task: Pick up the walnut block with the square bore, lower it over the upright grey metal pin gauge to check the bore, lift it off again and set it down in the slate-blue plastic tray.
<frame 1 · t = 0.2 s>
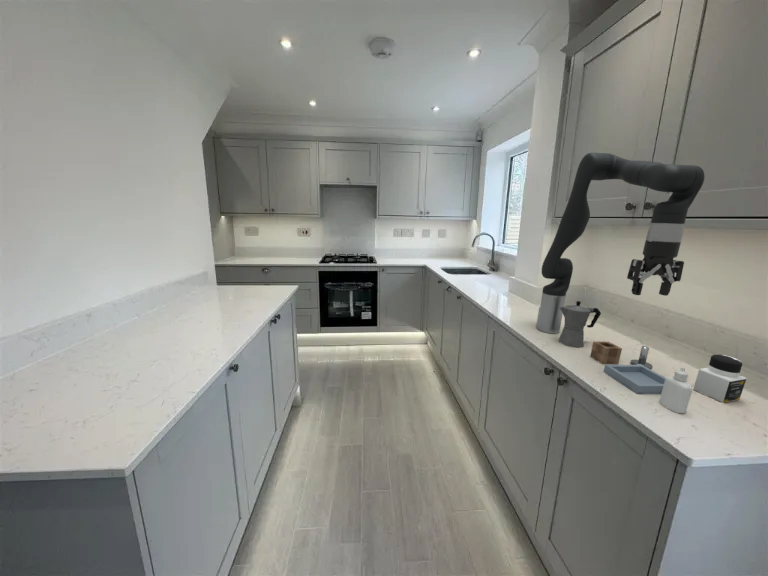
hand: (649, 294, 89), 28 cm above the countertop, tool pointing down, fingers open, 8 cm apart
pin gauge: (641, 365, 106), on the countertop
medicine bottle: (715, 395, 89), on the countertop
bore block: (603, 360, 109), on the countertop
eye dropper bottle: (671, 408, 82), on the countertop
tray: (638, 382, 95), on the countertop
coffeepot: (573, 343, 124), on the countertop
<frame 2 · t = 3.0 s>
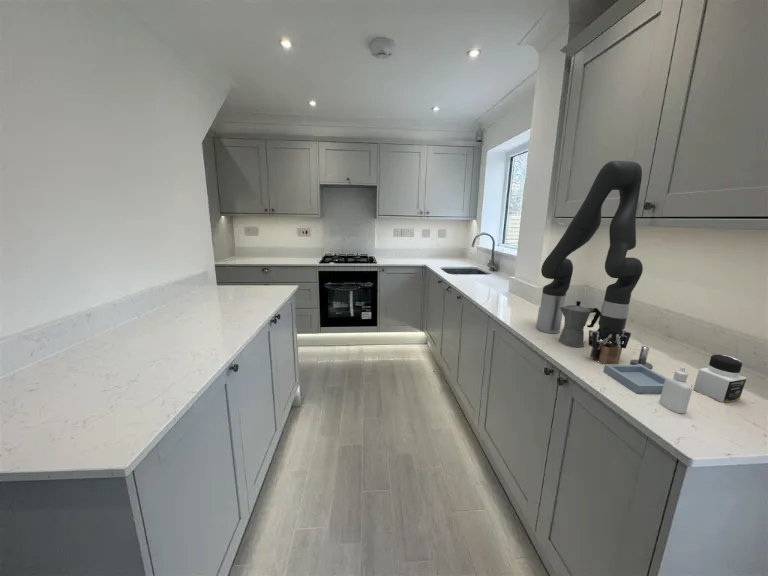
hand: (604, 358, 109), 1 cm above the countertop, tool pointing down, fingers closed on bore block, 6 cm apart
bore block: (604, 360, 109), on the countertop, touching gripper
everything else where it was.
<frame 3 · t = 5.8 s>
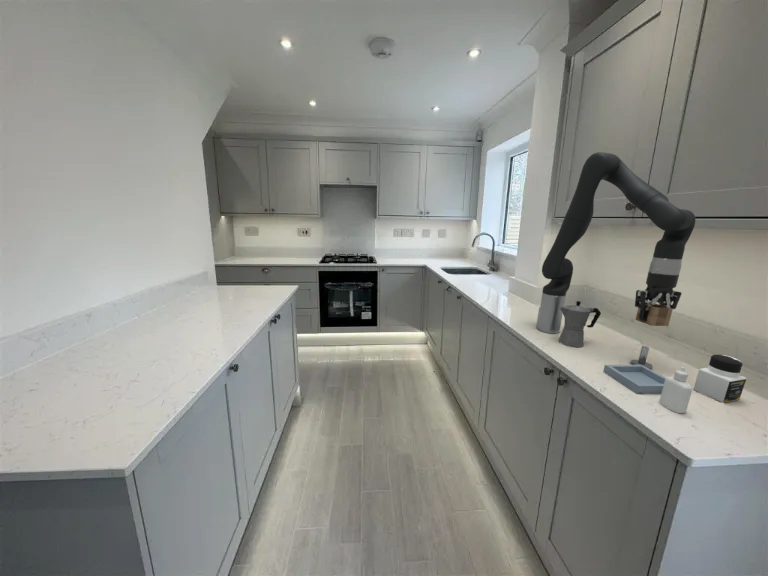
hand: (651, 320, 102), 17 cm above the countertop, tool pointing down, fingers closed on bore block, 6 cm apart
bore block: (651, 322, 103), point 16 cm above the countertop, touching gripper
everything else where it was.
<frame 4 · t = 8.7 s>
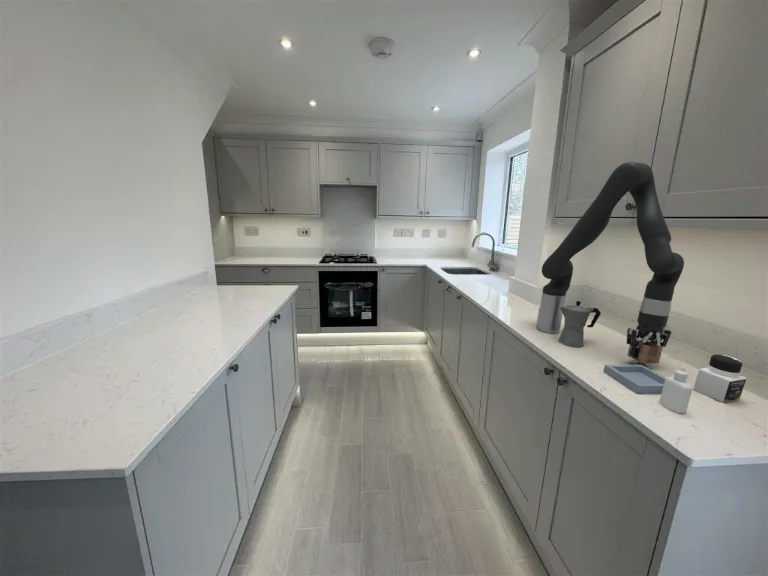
hand: (642, 357, 105), 3 cm above the countertop, tool pointing down, fingers closed on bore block, 6 cm apart
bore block: (642, 359, 106), point 2 cm above the countertop, touching gripper
everything else where it was.
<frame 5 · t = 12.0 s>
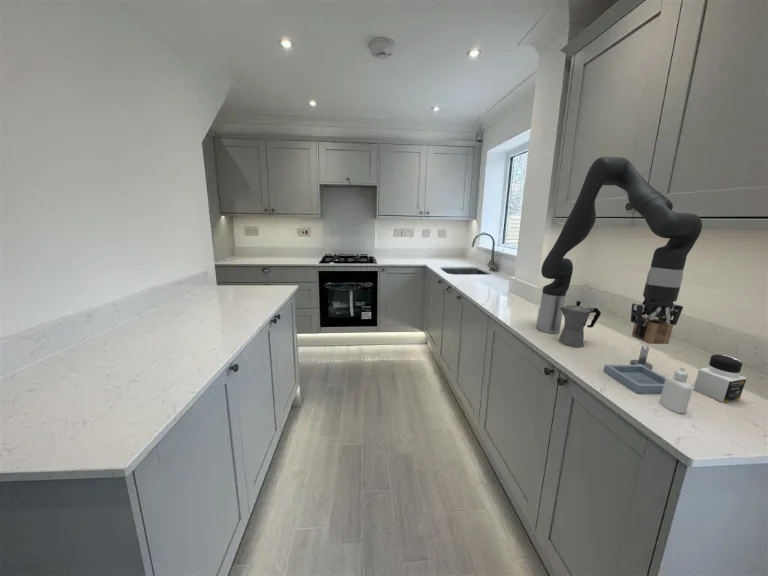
hand: (649, 337, 91), 15 cm above the countertop, tool pointing down, fingers closed on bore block, 6 cm apart
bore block: (649, 339, 92), point 14 cm above the countertop, touching gripper
everything else where it was.
when the fingers open (3 cm above the countertop, at t = 14.6 s): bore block drops 1 cm, resting on tray.
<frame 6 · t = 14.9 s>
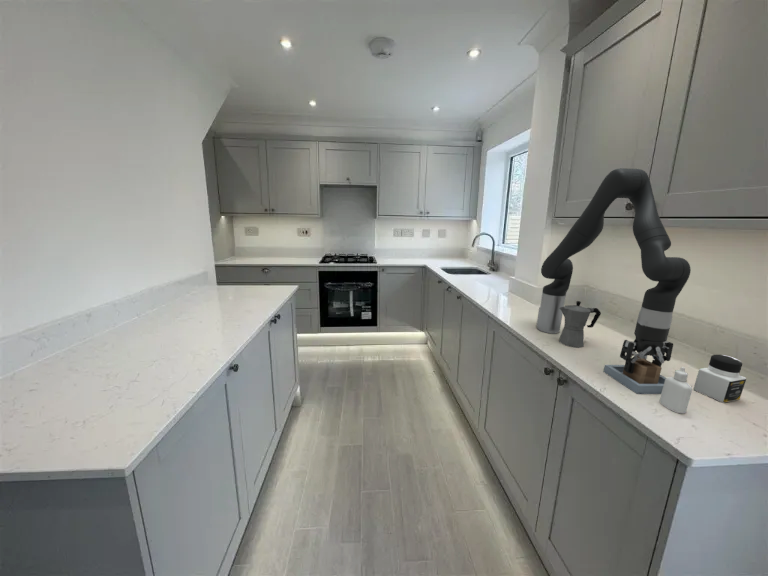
hand: (641, 372, 94), 3 cm above the countertop, tool pointing down, fingers open, 8 cm apart
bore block: (639, 380, 95), point 1 cm above the countertop, touching tray
everything else where it was.
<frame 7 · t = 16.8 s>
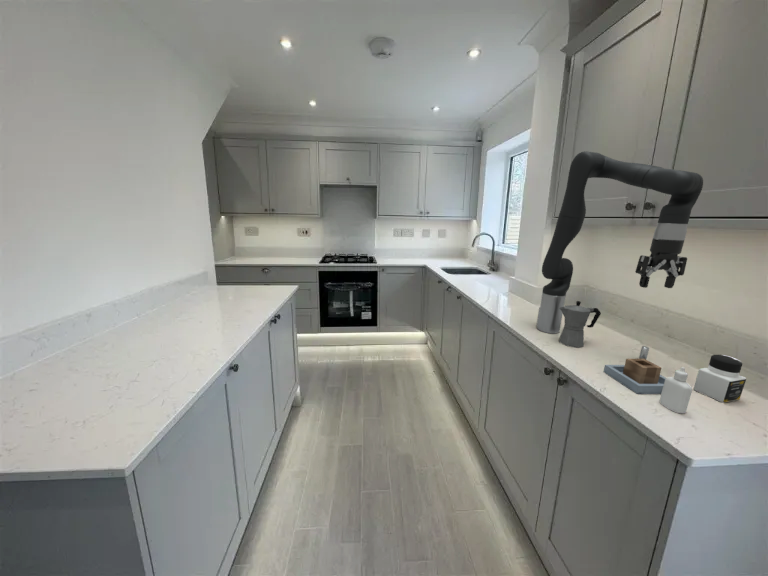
hand: (655, 287, 100), 28 cm above the countertop, tool pointing down, fingers open, 8 cm apart
nothing on the countertop moved.
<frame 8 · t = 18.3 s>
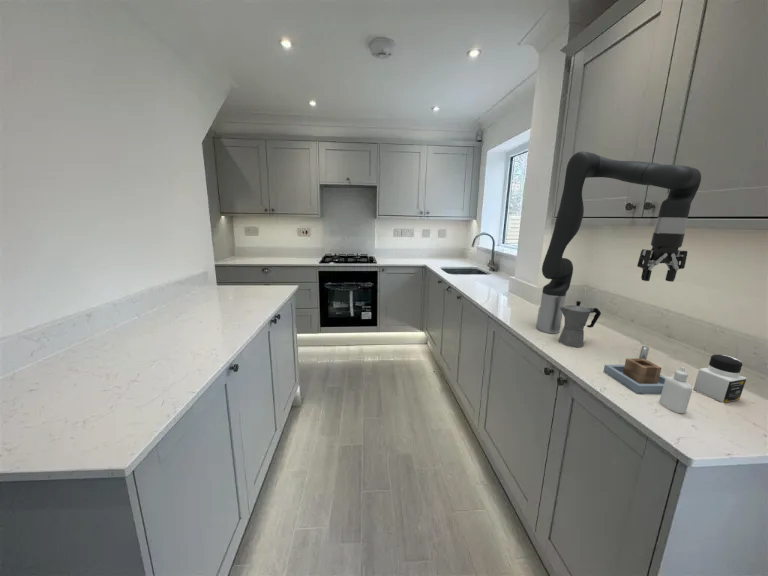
hand: (657, 280, 101), 30 cm above the countertop, tool pointing down, fingers open, 8 cm apart
nothing on the countertop moved.
at the end: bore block inside the target area on the tray (0.0 cm from its centre), point 0.6 cm above the tray's base; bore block tilted 0°; the gripper is holding nothing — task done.
